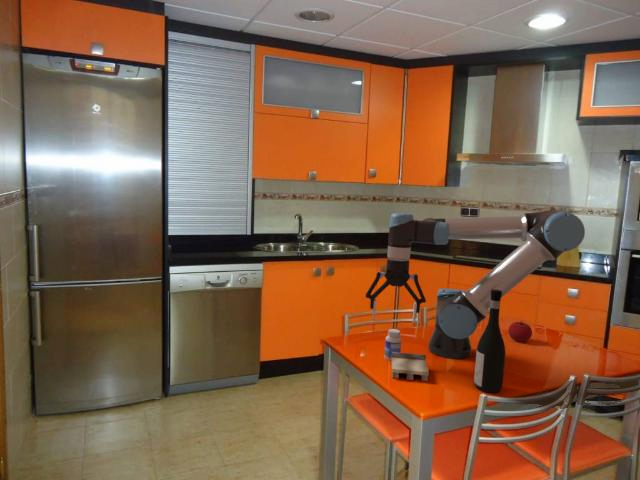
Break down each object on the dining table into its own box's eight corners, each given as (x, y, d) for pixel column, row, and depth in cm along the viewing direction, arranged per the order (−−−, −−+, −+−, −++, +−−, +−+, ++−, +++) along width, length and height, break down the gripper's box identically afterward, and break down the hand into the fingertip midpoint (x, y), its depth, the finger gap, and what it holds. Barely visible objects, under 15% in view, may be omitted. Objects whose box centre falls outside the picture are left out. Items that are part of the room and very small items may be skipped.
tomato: (532, 340, 188) (534, 320, 187) (529, 345, 180) (531, 325, 179) (509, 335, 192) (511, 316, 191) (505, 341, 185) (507, 321, 184)
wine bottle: (472, 390, 138) (481, 291, 134) (474, 380, 145) (482, 286, 141) (502, 396, 135) (511, 294, 131) (501, 385, 142) (510, 289, 139)
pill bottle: (382, 355, 164) (384, 328, 162) (397, 355, 164) (399, 328, 163) (386, 360, 158) (388, 333, 157) (401, 361, 159) (403, 333, 157)
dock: (424, 367, 153) (425, 354, 153) (428, 381, 143) (429, 367, 142) (391, 364, 155) (392, 351, 154) (391, 378, 144) (392, 364, 143)
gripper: (434, 259, 159) (429, 320, 162) (361, 254, 162) (357, 313, 165) (437, 263, 152) (432, 326, 154) (360, 257, 155) (356, 319, 157)
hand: (393, 320), depth 160 cm, fingers open, 13 cm apart
